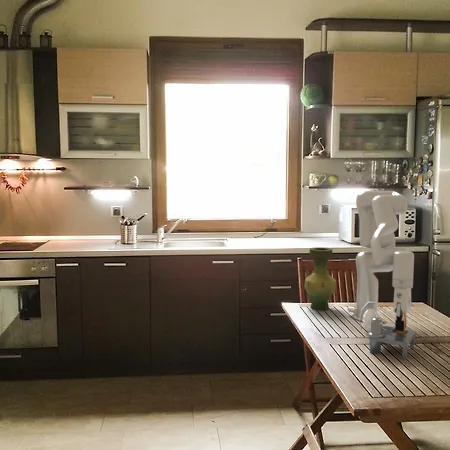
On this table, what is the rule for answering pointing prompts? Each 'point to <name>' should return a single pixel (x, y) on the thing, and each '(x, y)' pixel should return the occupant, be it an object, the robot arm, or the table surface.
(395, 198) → the robot arm
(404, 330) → the pin
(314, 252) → the vase
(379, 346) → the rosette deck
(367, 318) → the hand grenade
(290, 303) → the table surface
